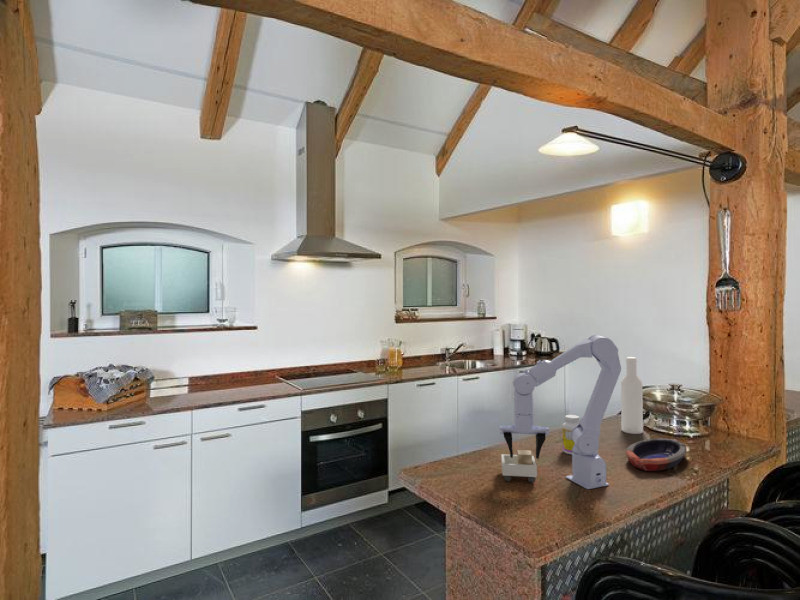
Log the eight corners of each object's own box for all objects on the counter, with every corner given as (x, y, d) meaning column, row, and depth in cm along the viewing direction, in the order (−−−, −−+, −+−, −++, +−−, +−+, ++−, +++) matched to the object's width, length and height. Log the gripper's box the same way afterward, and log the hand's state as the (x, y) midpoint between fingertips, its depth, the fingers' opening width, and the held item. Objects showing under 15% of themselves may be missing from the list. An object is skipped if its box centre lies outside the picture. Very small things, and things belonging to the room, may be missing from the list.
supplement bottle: (566, 448, 172) (566, 413, 172) (585, 451, 167) (584, 415, 167) (560, 453, 167) (559, 416, 166) (578, 456, 162) (578, 419, 162)
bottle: (647, 433, 187) (646, 358, 187) (629, 434, 186) (628, 359, 186) (634, 427, 195) (634, 355, 195) (617, 429, 194) (616, 356, 194)
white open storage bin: (533, 472, 148) (533, 455, 148) (537, 483, 140) (536, 465, 140) (501, 470, 150) (501, 454, 150) (502, 481, 141) (502, 464, 141)
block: (530, 466, 146) (530, 450, 146) (532, 471, 142) (531, 454, 142) (517, 465, 147) (517, 449, 147) (518, 470, 143) (518, 454, 143)
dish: (698, 457, 161) (698, 442, 161) (661, 480, 141) (660, 464, 141) (650, 446, 173) (650, 432, 173) (610, 466, 153) (610, 451, 153)
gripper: (546, 410, 147) (547, 453, 147) (499, 409, 150) (499, 451, 150) (549, 416, 140) (550, 461, 140) (500, 414, 143) (500, 459, 143)
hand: (524, 457), depth 145 cm, fingers open, 7 cm apart
